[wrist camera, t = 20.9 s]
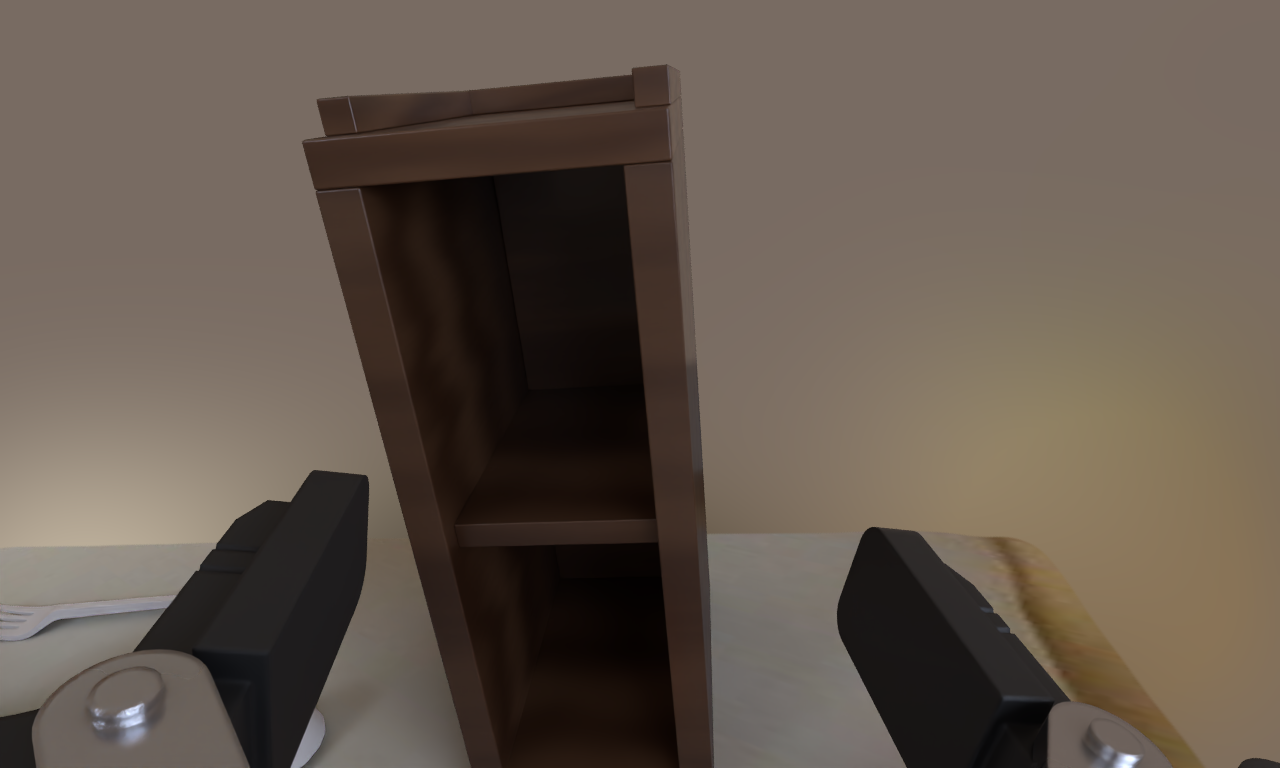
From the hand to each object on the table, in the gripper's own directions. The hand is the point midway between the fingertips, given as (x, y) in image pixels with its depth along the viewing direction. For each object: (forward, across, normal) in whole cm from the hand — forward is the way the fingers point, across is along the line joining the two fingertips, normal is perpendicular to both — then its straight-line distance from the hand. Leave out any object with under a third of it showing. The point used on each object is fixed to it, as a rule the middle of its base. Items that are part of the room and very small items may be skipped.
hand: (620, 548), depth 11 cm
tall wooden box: (+22, -6, +25) cm, 34 cm away
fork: (+35, +30, +35) cm, 58 cm away
